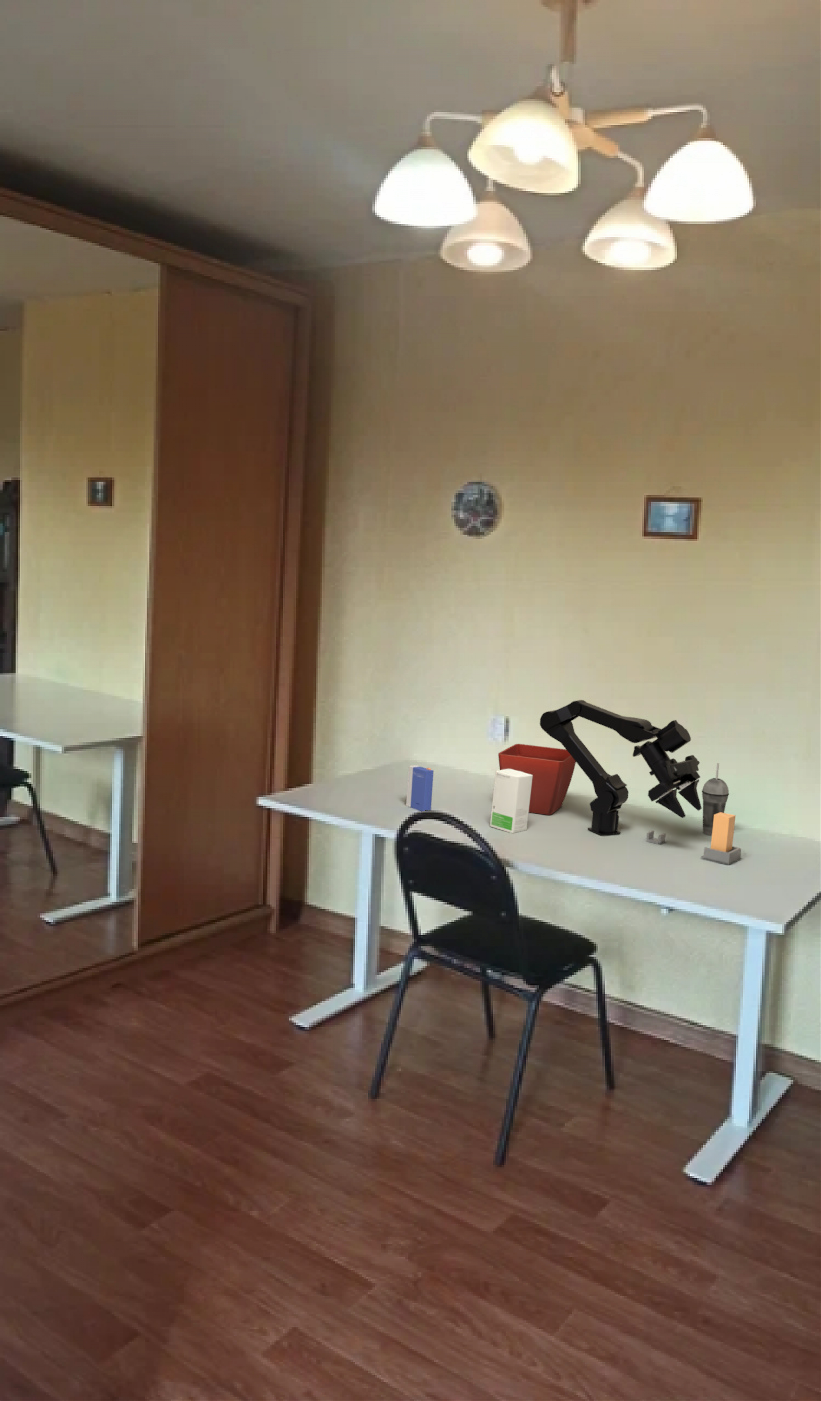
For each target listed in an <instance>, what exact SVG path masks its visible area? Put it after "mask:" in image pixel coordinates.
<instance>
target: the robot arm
mask: <svg viewBox="0 0 821 1401" xmlns="http://www.w3.org/2000/svg"><path fill="white" fill-rule="evenodd" d="M579 717H580V718H583V719H585V720H588V721H590V722H592V723H595V724H597V725H600V726H603V727H605V728H608V729H611V730H613V731H615V732H616V733H617V734H619V736H620V737H622V738H623V739H624V740H627V741H628V742H630V743H632V744H638V743H642V742H644V743H642V745H634V747H633V753H632V757H638V756H642V758H643V760H644V761H645V762H646V764H647V766H648V767H649V769H650V771H649V772H648V773H649V776H651V777H652V776H654V777H655V779H656V781H657V782H658V784H656V785H654V786H653V787H652V788H650V789H649V790H648V793H647V797H648V798H649V800H650V802H654V801H655V803H656V804H658V805H661V806H663V807H665V809H668V810H669V811H671V812H672V813H674V814H675V815H677V816H678V817H680V818H681V819H683V818H685V817H686V813H685V811H684V808H683V807H682V805H681V803H680V801H679V798H678V797H677V794H679V795H680V796H681V797H683V799H684V800H686V802H688V803H689V804H690V805H691V806H692V807H693V808H695V809H696V810H697V811H698V812H699V811H700V810H703V806H702V804H701V801H700V798H699V793H698V788H697V787H698V783H700V779H701V776H700V774H699V773H698V771H700V770H699V769H700V768H699V765H700V761H699V760H698V759H697V758H696V757H695V755H694V754H690V755H688V756H685V758H684V760H682V761H677V760H676V759H675V758H670V757H669V755H668V752H669V753H671V754H672V753H675V752H676V751H677V750H680V749H681V748H683V747H684V746H685V745H686V744H689V743H690V742H691V740H692V737H691V735H690V733H689V731H688V729H687V728H686V727H684V726H683V725H682V724H680V723H679V722H678V721H677V719H674V720H671V721H670V722H669V723H668V724H667V725H666V726H664V727H662V728H659V727H657V726H654V725H652V722H651V721H650V720H647V719H644V718H640V717H631V716H625V715H620V714H618V713H615V712H614V711H611V710H607V709H605V708H602V707H600V706H597V705H595V704H592V703H589V702H587V701H585V700H584V699H577V700H573V701H571V702H570V703H568V704H567V705H564V706H562V707H560V708H558V709H554V710H548V711H544V712H543V713H542V714H541V716H540V718H539V726H540V728H541V729H542V731H544V732H545V733H546V734H547V735H548V736H550V738H552V739H554V740H556V741H557V742H559V743H560V744H561V745H562V746H563V748H565V749H566V750H567V751H568V752H569V754H570V755H571V756H572V757H573V759H574V760H575V761H576V764H577V765H578V766H579V767H580V769H581V770H582V772H584V774H585V775H586V777H588V779H589V780H590V782H592V786H593V790H594V793H595V795H596V797H595V798H594V799H593V800H592V801H591V802H590V803H589V806H590V811H591V812H592V816H591V818H592V819H591V826H590V827H587V830H588V831H589V832H592V833H595V834H597V835H599V836H610V835H620V834H621V832H620V831H618V830H619V821H620V819H619V818H620V816H619V810H620V809H621V807H622V806H623V804H626V802H627V801H628V798H629V790H628V784H627V783H625V782H624V781H623V780H622V779H621V778H622V777H620V775H619V774H618V773H615V774H612V775H611V774H609V773H608V772H607V771H606V769H604V767H603V766H602V765H601V764H600V763H599V761H598V759H596V758H595V756H594V755H593V754H592V753H591V751H590V750H589V749H588V747H587V746H586V745H585V744H584V743H583V741H582V740H581V739H580V738H579V736H578V735H577V734H576V731H575V728H574V724H573V722H572V721H574V720H576V719H577V718H579ZM651 739H655V740H653V741H650V740H651ZM645 741H646V742H645Z"/></svg>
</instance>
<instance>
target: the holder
mask: <svg viewBox="0 0 821 1401" xmlns="http://www.w3.org/2000/svg"><path fill="white" fill-rule="evenodd" d="M741 850H742V848H741V847H737V846H733V845H732V851H730V852H724V851H720V850H715V849H711V847H704V848H703V855H702V856H701V855H700V859H701V860H705V861H709V862H713V863H718V864H722V865H725V866H730V865H732V864H734V863H737V862H738V861H740V860H741V853H742V852H741Z"/></svg>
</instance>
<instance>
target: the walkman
mask: <svg viewBox="0 0 821 1401" xmlns="http://www.w3.org/2000/svg"><path fill="white" fill-rule="evenodd" d="M407 773H408V774H407V775H408V776H407V787H406V801H405V802H406V803H405V804H406V807H408V806H409V808H412V809H415V810H417V811H420V812H423V811H425V810H431V811H432V799H433V798H432V797H433V784H434V770H433V769H432V768H430V767H423V766H420V765H415V764H414V765H408V772H407Z"/></svg>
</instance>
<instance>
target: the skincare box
mask: <svg viewBox="0 0 821 1401" xmlns="http://www.w3.org/2000/svg"><path fill="white" fill-rule="evenodd" d="M494 775H495V776H494V785H493V794H492V803H491V813H490V822H489V823H490V824H489V826H490V827H491V828H494V829H498V830H502V831H504V832H507V833H510V834H516V833H520V831H521V832H525V831H527V829H528V819H529V813H530V812H529V803H530V794H531V786H532V777H533V775H531V774H527V773H524V772H521V771H517V770H513V769H504V770H500V769H499V770H495V774H494ZM524 830H525V831H524Z"/></svg>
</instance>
